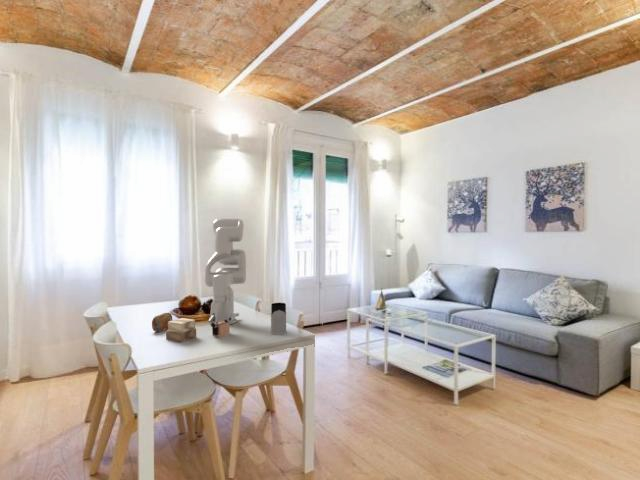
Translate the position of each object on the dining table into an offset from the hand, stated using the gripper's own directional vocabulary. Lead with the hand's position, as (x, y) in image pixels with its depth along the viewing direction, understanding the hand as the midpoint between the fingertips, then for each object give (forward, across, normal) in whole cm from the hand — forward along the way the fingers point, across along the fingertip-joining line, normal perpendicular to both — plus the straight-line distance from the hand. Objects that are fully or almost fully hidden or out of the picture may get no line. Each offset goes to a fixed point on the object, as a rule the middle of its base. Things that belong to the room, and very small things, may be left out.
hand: (220, 332), depth 193 cm
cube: (+1, 0, 0) cm, 1 cm away
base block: (+1, +14, -13) cm, 19 cm away
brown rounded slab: (+1, +8, -35) cm, 36 cm away
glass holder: (+1, -20, +22) cm, 30 cm away
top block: (-3, +14, -13) cm, 19 cm away
